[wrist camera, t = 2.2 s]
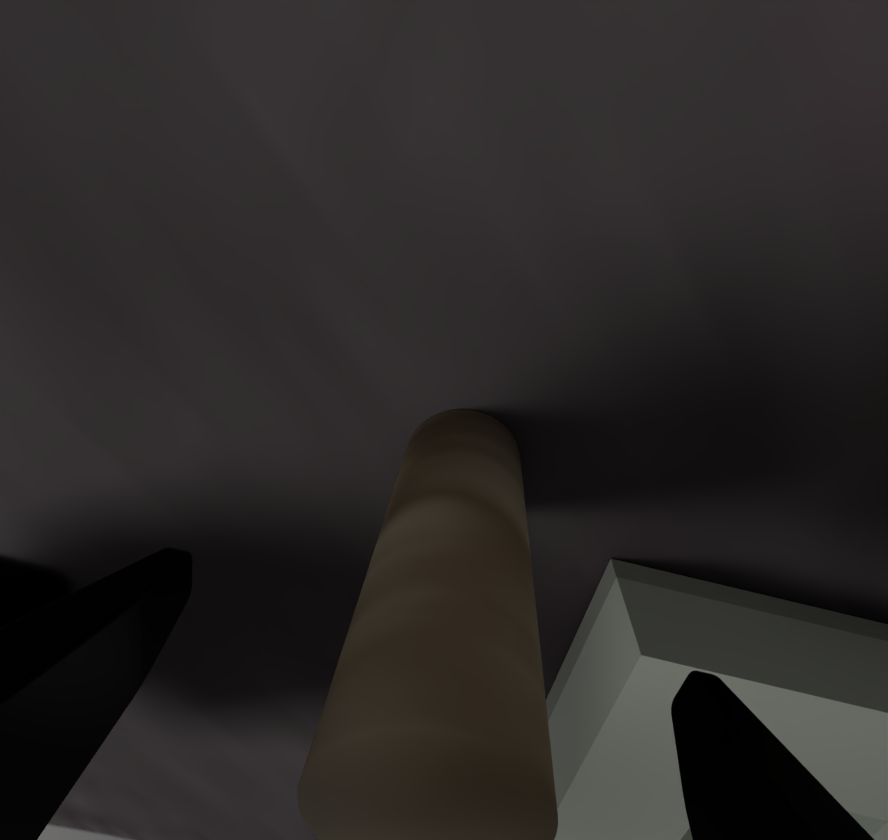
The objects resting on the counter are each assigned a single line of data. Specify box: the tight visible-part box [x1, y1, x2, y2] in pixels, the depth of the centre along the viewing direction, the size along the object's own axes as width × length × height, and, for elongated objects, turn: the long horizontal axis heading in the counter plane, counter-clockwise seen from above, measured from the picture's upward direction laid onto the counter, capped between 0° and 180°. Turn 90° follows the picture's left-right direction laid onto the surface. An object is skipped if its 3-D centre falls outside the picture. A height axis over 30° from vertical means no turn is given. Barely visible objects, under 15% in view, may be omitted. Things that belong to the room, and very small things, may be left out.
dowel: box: [298, 409, 558, 840], centre depth 10 cm, size 3×3×9 cm
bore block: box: [546, 559, 888, 840], centre depth 16 cm, size 12×12×4 cm
